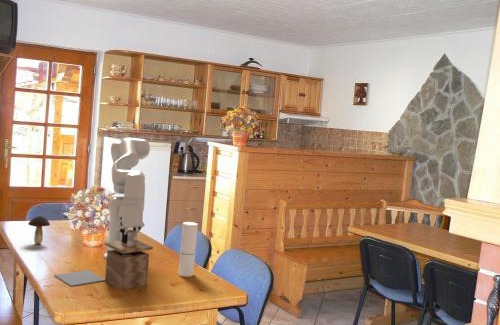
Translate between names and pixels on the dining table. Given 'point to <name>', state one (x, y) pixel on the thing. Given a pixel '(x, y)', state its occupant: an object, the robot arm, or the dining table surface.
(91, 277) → the mat
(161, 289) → the dining table surface
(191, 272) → the cylindrical container
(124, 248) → the lid
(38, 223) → the decorative mushroom
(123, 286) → the box
